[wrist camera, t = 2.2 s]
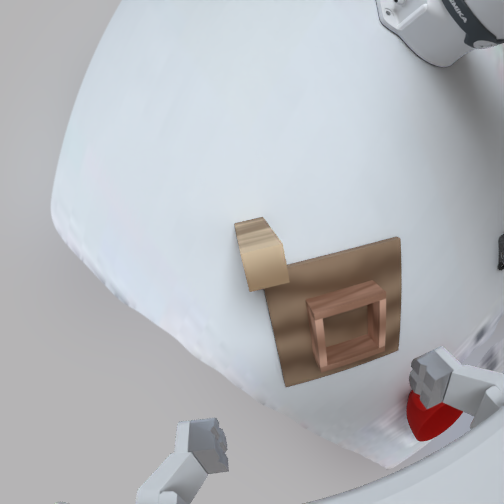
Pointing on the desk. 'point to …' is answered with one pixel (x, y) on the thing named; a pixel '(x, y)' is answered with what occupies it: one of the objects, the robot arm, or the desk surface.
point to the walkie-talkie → (501, 252)
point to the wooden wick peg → (261, 254)
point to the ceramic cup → (429, 418)
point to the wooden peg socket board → (337, 311)
